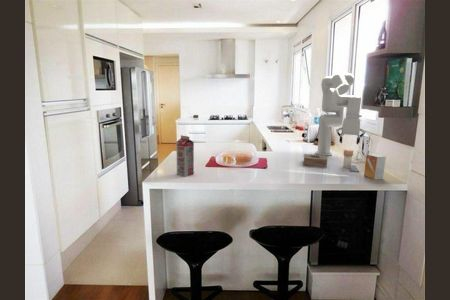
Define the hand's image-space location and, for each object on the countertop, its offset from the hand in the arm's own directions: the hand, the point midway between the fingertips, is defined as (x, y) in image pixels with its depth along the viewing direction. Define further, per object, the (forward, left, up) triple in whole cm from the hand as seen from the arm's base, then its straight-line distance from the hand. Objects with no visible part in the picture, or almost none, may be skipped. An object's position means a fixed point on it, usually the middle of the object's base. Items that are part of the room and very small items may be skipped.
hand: (349, 143), depth 181 cm
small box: (+18, +12, -16) cm, 27 cm away
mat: (+1, 0, -16) cm, 16 cm away
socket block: (+1, -20, -16) cm, 26 cm away
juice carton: (+50, -91, -16) cm, 105 cm away
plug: (+1, 0, -15) cm, 15 cm away
